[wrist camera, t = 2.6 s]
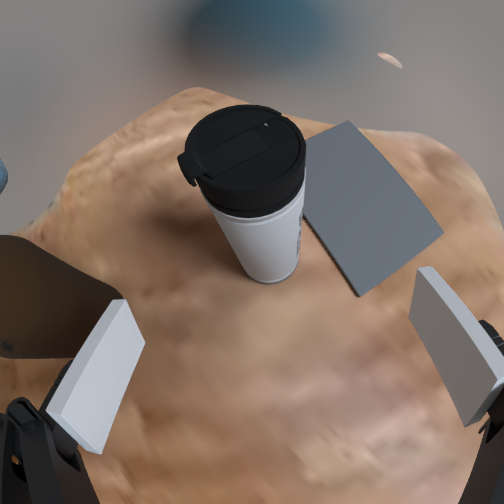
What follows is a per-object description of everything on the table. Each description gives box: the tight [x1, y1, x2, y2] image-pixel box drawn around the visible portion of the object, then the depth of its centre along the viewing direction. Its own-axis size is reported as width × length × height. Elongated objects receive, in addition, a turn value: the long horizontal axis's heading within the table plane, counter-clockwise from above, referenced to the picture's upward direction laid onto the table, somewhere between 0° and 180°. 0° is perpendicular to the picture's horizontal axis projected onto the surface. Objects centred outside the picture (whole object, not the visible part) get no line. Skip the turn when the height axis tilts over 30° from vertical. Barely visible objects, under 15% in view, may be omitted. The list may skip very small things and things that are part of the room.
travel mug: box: [177, 105, 306, 285], centre depth 23 cm, size 6×7×20 cm
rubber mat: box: [303, 121, 444, 297], centre depth 33 cm, size 20×14×1 cm
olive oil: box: [0, 235, 123, 359], centre depth 20 cm, size 11×11×25 cm
